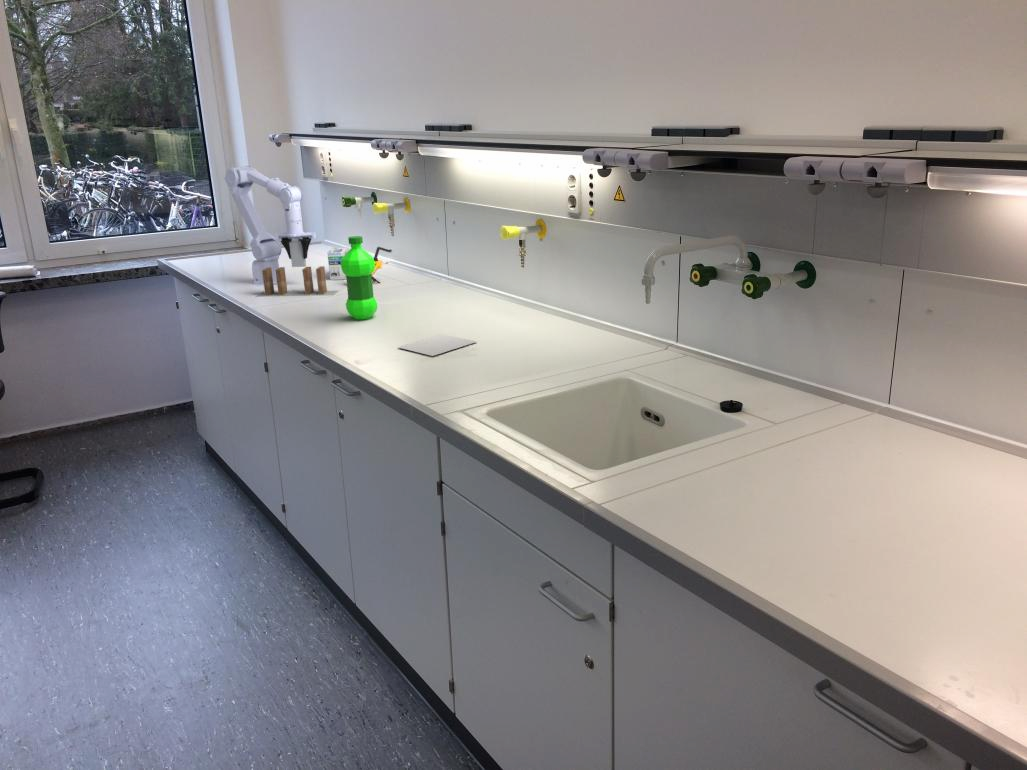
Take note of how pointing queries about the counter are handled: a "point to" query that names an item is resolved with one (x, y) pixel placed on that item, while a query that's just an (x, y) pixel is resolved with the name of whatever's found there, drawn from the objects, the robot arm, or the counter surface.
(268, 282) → the domino
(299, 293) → the rubber mat
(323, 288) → the domino
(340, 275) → the light bulb box
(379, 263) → the robot dog
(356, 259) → the plastic bottle
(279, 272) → the domino
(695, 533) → the counter surface
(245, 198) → the robot arm
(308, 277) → the domino
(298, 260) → the grey domino
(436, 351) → the grey flat square plate
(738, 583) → the counter surface
